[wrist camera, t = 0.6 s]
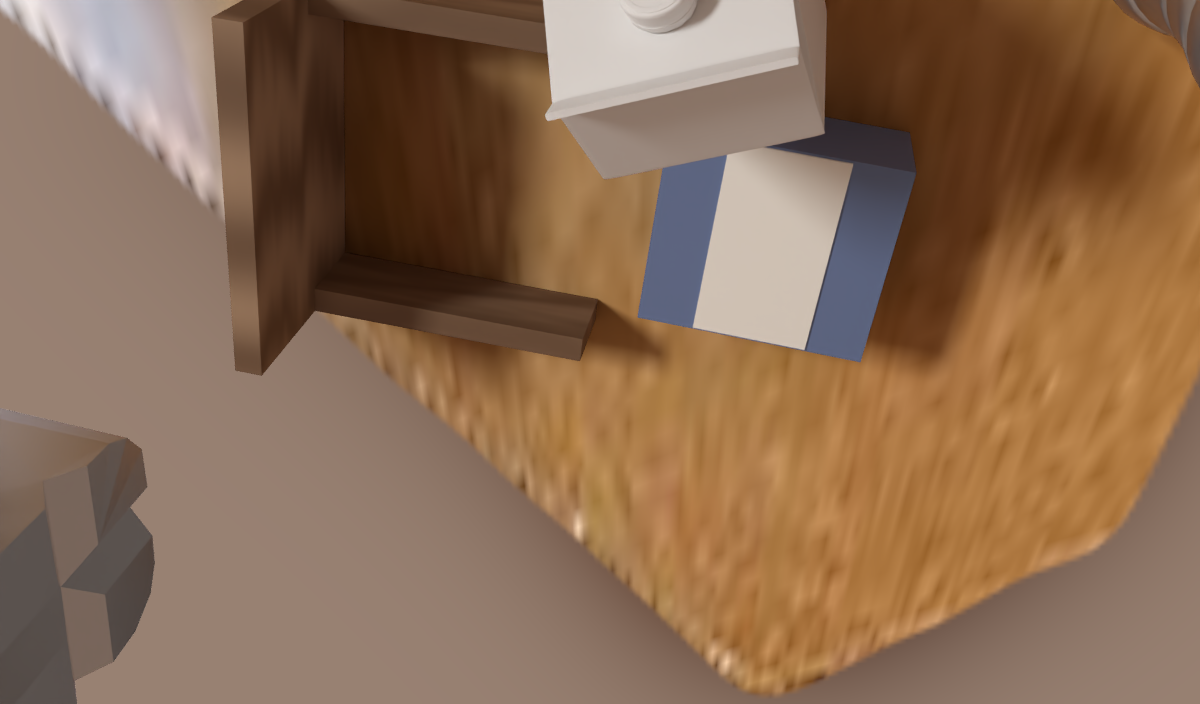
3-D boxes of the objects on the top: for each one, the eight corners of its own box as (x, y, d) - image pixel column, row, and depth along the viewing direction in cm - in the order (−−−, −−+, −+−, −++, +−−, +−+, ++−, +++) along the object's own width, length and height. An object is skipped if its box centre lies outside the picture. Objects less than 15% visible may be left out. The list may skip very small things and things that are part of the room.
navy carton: (683, 89, 50) (669, 127, 46) (909, 130, 50) (916, 174, 45) (652, 267, 55) (637, 318, 51) (858, 308, 54) (860, 363, 50)
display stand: (317, -41, 50) (211, 17, 42) (634, 10, 49) (592, 80, 40) (322, 269, 58) (235, 370, 50) (594, 320, 57) (553, 433, 48)
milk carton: (827, 12, 47) (824, 184, 31) (663, 51, 49) (580, 232, 33) (794, -168, 44) (771, -80, 28) (619, -118, 46) (505, -10, 30)
